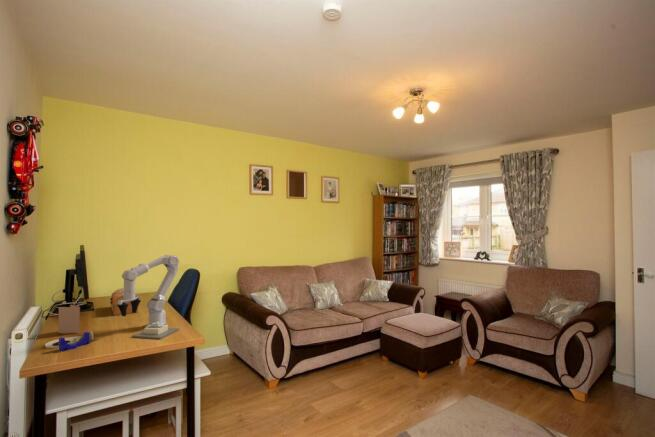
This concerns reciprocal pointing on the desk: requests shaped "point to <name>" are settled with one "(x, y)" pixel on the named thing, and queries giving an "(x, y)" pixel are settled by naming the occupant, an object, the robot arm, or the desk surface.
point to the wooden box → (114, 301)
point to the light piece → (69, 340)
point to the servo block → (155, 325)
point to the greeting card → (69, 319)
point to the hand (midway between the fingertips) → (129, 314)
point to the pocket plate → (155, 332)
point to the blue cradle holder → (65, 346)
